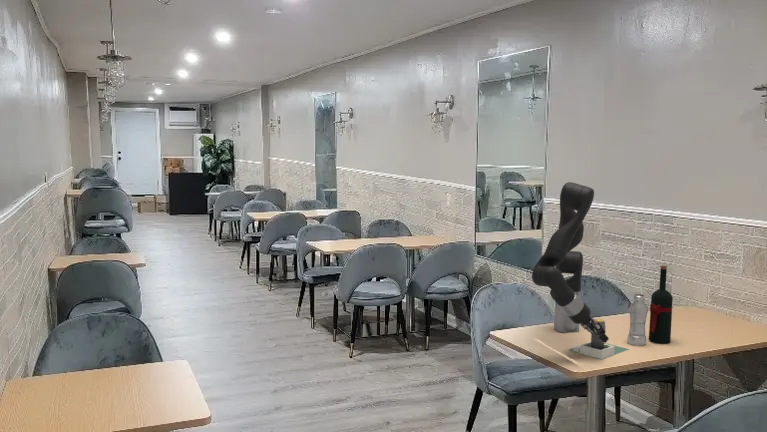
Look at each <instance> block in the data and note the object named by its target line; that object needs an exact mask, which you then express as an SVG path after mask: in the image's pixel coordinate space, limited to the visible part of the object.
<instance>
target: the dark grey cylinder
mask: <svg viewBox="0 0 767 432" xmlns="http://www.w3.org/2000/svg"><path fill="white" fill-rule="evenodd" d="M593 319H594V320H595V322H596V323H597V322H599V323H600V324H601V326H602V327H603V329H604V330H605V331H606V329H607V326H606V321H605V319H603V318H593ZM592 330H593V329H592ZM606 332H607V331H606ZM590 342H591V347H592V348H595V349H599V350H602V349H604V342H603V341H602V340H601V339H600V338H599V337H598V336H597V335H596V334H595V333H593V332H591V333H590Z"/></svg>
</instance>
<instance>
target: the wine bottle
mask: <svg viewBox="0 0 767 432" xmlns="http://www.w3.org/2000/svg"><path fill="white" fill-rule="evenodd" d="M667 268H668V267H667V265H660V270H659V271H660V272H659V274H660V275H659V289H657V290H655V291H653V293H652V294H651V299H650V301H651V302H650V304H649V305H650V306H649V312H650V313H649V314H650V315H649V329H648V342H650V343H653V344H657V345H658V344H659V345H669V344H670V343H671V335H672V317H673V300H674V299H673V295H672V293H671V292H670V291H668V290H667V289H666V286H667V273H668V271H667V270H668V269H667Z"/></svg>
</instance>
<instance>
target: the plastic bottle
mask: <svg viewBox="0 0 767 432" xmlns="http://www.w3.org/2000/svg"><path fill="white" fill-rule="evenodd" d="M644 301H646V300H645V295H644V294H641V293H640V294H639V293H638V294H637V293H635V294H633V302H631V304H630V305H629V310H628V311H629V329H628V334H627V345H630V346H635V347H644V346H645V345H646V343H647V336H646V322H647V321H646V320H647V316H648V311H649V308H648V306H647V304H646V303H645V302H644Z"/></svg>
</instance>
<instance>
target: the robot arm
mask: <svg viewBox="0 0 767 432" xmlns="http://www.w3.org/2000/svg"><path fill="white" fill-rule="evenodd" d="M594 197H595V191H594V188H592V187H590V186H587V185H582V184H579V183H576V182H571V181H568V182H565V183H564V185H563V186H562V188H561V190H560V195H559V209H560V210H559V223H558V229H557V230H556V231H554V233H553V234H551V235H552V236H551V237H550V239H549V241H548V244H547V245H546V248H545V252H544V253H543V254H542V255H541V256H540V258H539V260H538V261H537V262H536V264H535V266H534V267H533V269H532V272H531V280H532V282H533V284H534V285H536V286H539V287H548V288H549V289H550V292H549V294H550V296H551V298H552V300H553V301H554V302H555V303H556V306H555V307H554V318H553V320H554V321H553V329H554V330H556V331H557V332H559V333H563V334H569V333H570V334H571V333H573V334H574V333H579V332H580V327H582V329H584V330H586V331H587V332H589V333H590V334H591V332H593V333H595V334H596V335H597V336H598V337H599V338H600V339H601V340H602V341H603V342H604V343H607V342H608V341H609V339H610V338H609V337H608V335H607V334H606V332H607V331H605V330H604V329H603V327H602V326H601V324H600V323H599V322H597V323H596V322H595V320H594V319H595V318H593V316H591V313H592V312H591V309H590V307H589V306H588V305H587V304H586V303H585V301H584V300H582V299H581V297H582V274H583V265H584V256H583V253H582V252H581V251H577V250H576V251H573V249H575V248H576V247H577V246H578V245H580V243H581V242H582V240H583V238H584V231H585V230H584V229H585V226H584V222H583V221H584V219H585V218H586V216H587V214H588V212H589V210H590V209H591V206H592V204H593V201H594ZM576 211H577V212H576ZM563 274H568V275H569V274H571V275H572V274H573V275H572V276H570V277H569V278H567V279H565V277H564V275H563ZM592 329H593V330H592Z"/></svg>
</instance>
